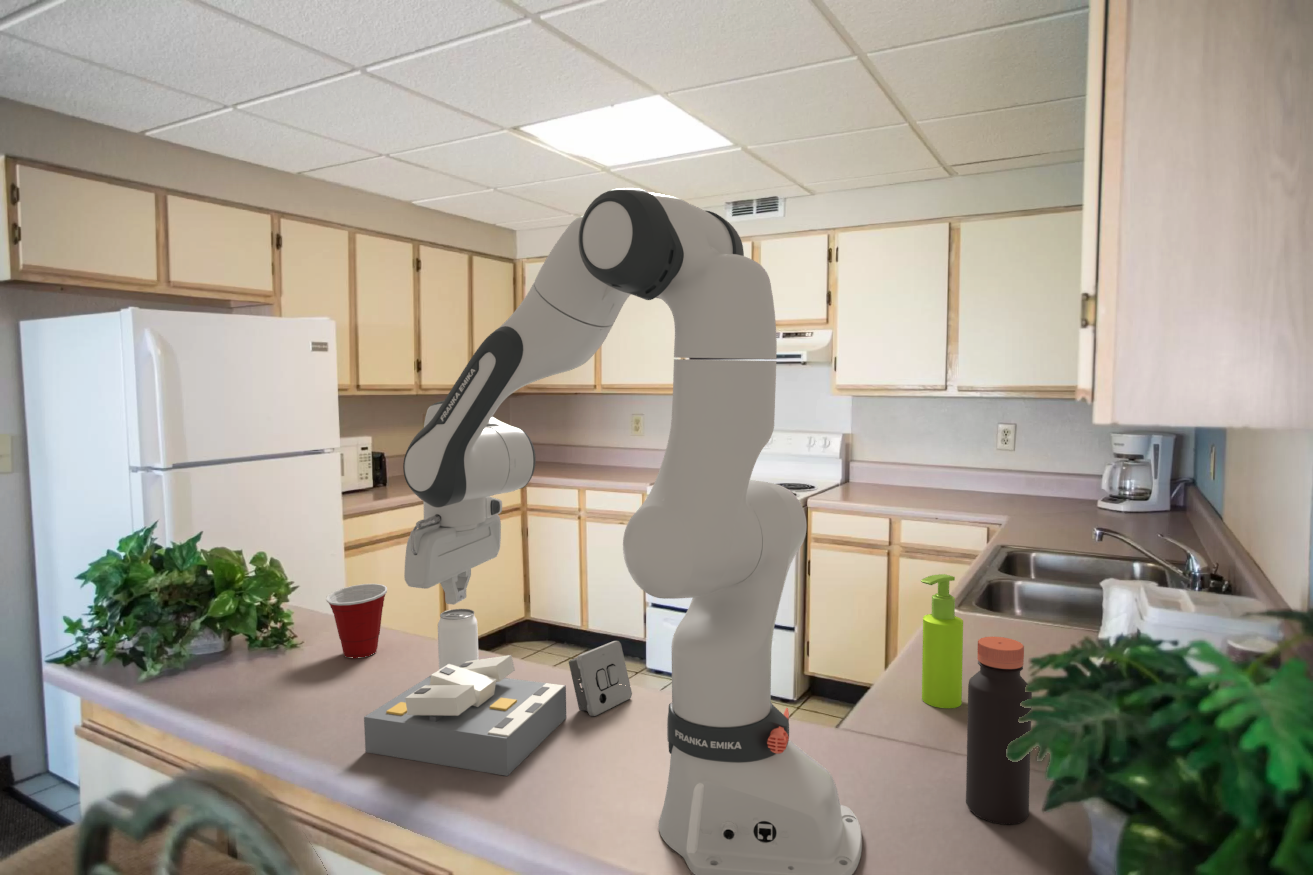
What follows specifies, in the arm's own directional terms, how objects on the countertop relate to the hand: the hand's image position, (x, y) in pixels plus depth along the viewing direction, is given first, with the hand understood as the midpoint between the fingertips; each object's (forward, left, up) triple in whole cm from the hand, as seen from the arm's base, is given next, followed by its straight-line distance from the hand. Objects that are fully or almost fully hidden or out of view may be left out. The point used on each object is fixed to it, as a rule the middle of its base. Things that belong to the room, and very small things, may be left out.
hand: (455, 601), depth 115 cm
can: (+8, -13, -19) cm, 24 cm away
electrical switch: (-18, -12, -19) cm, 28 cm away
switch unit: (-4, +3, -18) cm, 19 cm away
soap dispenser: (-69, -28, -19) cm, 76 cm away
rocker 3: (-3, -2, -12) cm, 13 cm away
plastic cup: (+34, -20, -19) cm, 44 cm away
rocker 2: (-3, +3, -12) cm, 13 cm away
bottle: (-74, +2, -19) cm, 76 cm away
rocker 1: (-3, +9, -12) cm, 15 cm away
